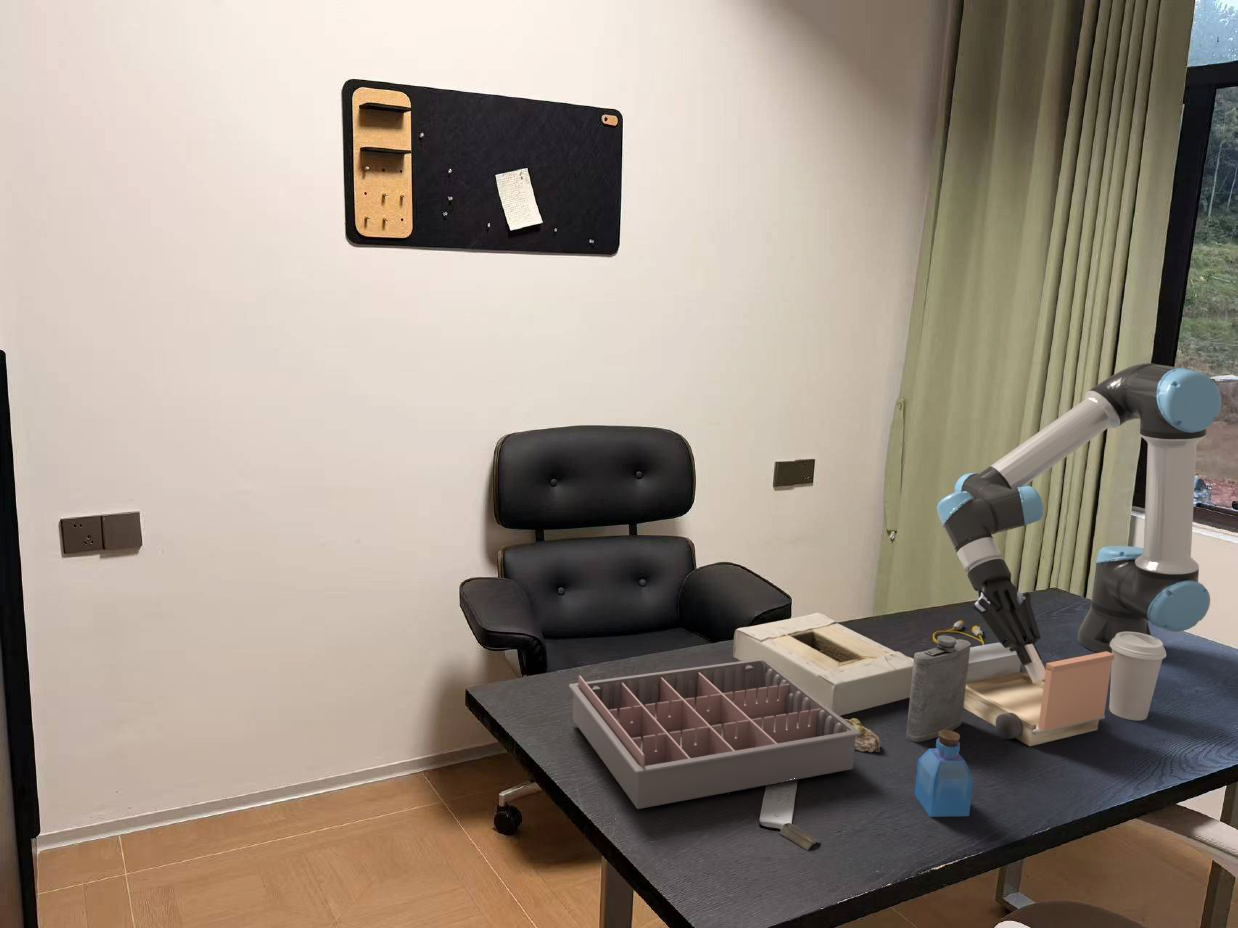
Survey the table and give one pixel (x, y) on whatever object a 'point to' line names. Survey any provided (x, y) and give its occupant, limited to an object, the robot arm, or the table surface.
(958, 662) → the flask
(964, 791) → the perfume bottle
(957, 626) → the extension cord
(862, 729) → the mineral rock
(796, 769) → the organizer tray
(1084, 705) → the tailgate
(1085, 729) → the truck bed
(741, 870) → the table surface
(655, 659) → the table surface
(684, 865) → the table surface
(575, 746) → the table surface
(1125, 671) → the coffee cup
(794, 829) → the block
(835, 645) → the box
